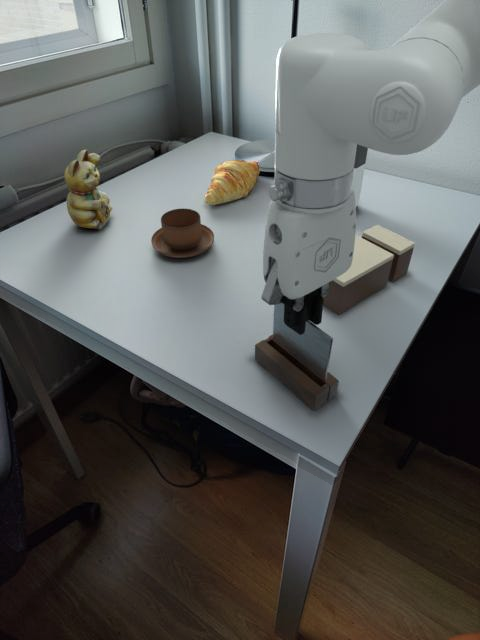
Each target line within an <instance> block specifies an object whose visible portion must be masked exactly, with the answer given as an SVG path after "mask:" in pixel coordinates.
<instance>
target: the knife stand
mask: <svg viewBox="0 0 480 640" xmlns="http://www.w3.org/2000/svg"><path fill="white" fill-rule="evenodd" d="M254 360H255V361H256V362H258V364H260V366H262V367H263V368H264V369H265V370H266V371H267V372H269V373H270V374H271V375H272V376H273V377H274V378H276V379H277V380H278V381H279V382H280V383H281V384H282V385H284V387H286V388H287V389H288V390H289V391H290V392H291V393H293V394H294V395H295V396H296V397H297V398H298V399H299V400H300V401H301V402H303V403H304V404H305V405H306V406H307V407H308V408H309V409H311V411H313V412H315V411H316V410H318V409H319V408H321V407H322V406H323V405H324V404H325V403H326V402H329V401H331V400H332V399H333V398H335V397H336V396H337V393H338V388H339V382H340V380H339V379H338V378H336V377H335V376H334V375H333V374H332V373H330V372H329V371H328V372H327V378H326V381H324V380H322V379H321V378H320V377H319V376H317V375H316V374H315V373H314V372H313V371H311V370H310V369H309V368H308V367H307V366H305V365H304V364H303V363H302V362H300V361H299V360H298V359H297V358H296V357H294V356H293V355H292V354H291V353H289V352H288V351H287V350H286V349H285V348H283V347H282V346H281V345H280V344H279V343H277V342H276V341H275V340H274V339H273V333H272V334H271V335H269V336H268V337H267V338H265V339H262V340H260V341H258V342H257V343H255V344H254Z"/></svg>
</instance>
